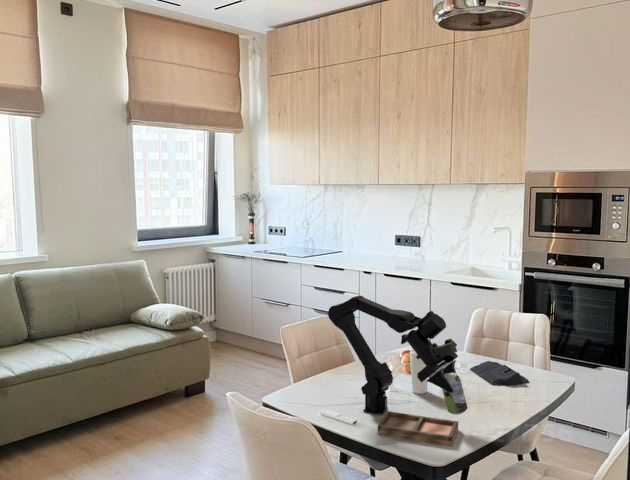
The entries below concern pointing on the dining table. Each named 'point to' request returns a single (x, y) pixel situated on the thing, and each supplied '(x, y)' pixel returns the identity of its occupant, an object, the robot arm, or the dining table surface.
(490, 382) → the dark slate chunk
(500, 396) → the dining table surface
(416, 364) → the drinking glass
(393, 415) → the divided wooden tray
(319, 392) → the dining table surface
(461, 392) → the beverage can
